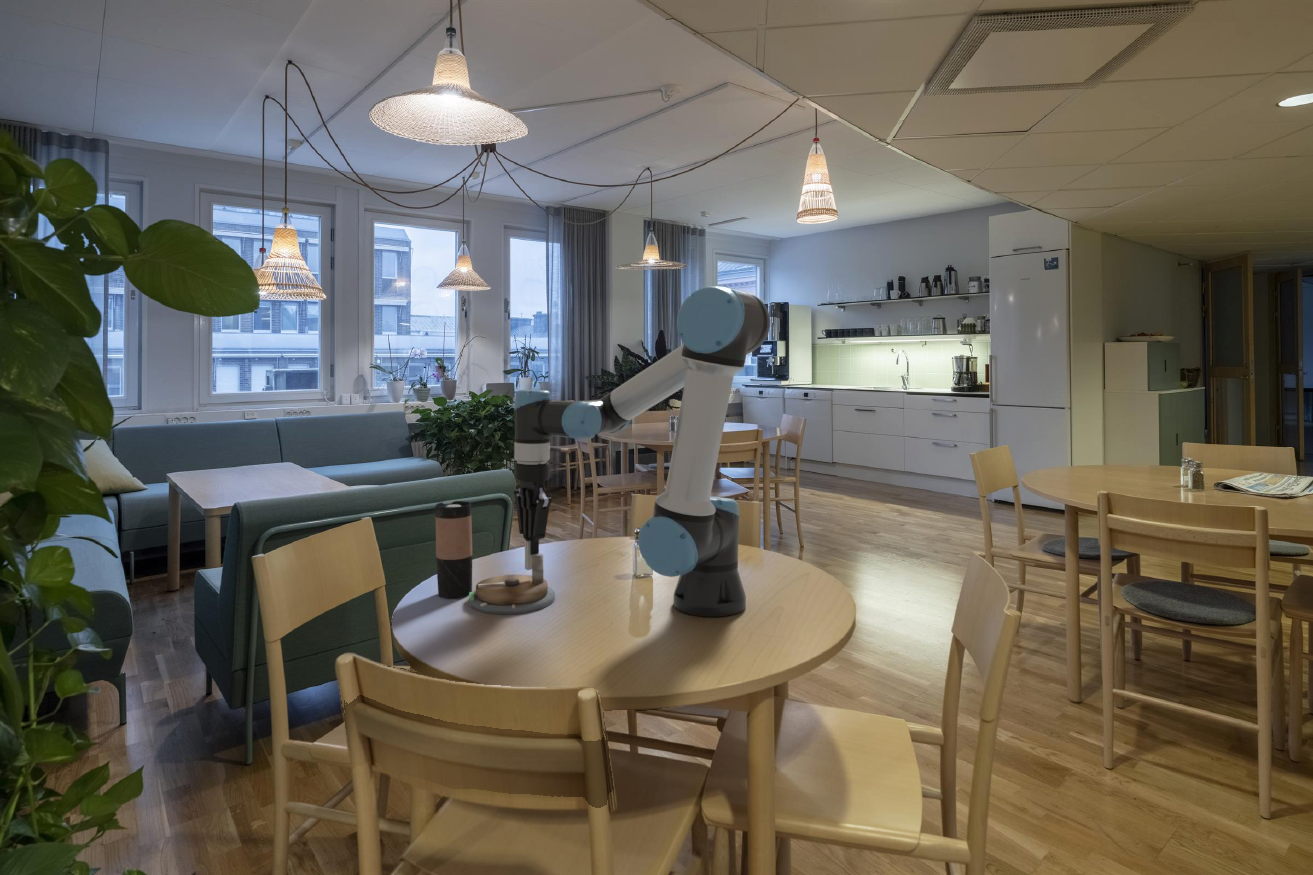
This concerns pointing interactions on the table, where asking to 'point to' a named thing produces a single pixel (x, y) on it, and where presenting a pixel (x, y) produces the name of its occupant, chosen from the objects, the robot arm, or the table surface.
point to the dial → (514, 586)
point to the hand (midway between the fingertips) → (531, 568)
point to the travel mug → (454, 549)
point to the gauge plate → (511, 609)
